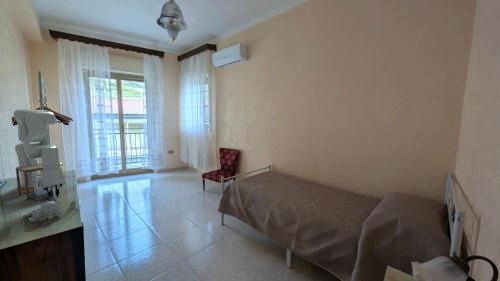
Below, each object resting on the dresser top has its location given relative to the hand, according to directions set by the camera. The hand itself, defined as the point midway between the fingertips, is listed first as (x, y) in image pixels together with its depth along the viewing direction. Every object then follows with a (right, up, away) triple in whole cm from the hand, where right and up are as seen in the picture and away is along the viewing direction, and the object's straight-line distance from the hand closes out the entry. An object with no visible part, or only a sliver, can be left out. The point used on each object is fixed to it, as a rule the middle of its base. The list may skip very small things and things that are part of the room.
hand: (53, 196), depth 130 cm
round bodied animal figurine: (+16, -6, -22) cm, 28 cm away
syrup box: (-13, -2, +6) cm, 15 cm away
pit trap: (-32, -1, +17) cm, 36 cm away
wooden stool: (-21, -1, +11) cm, 24 cm away
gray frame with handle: (-8, -2, +4) cm, 9 cm away
